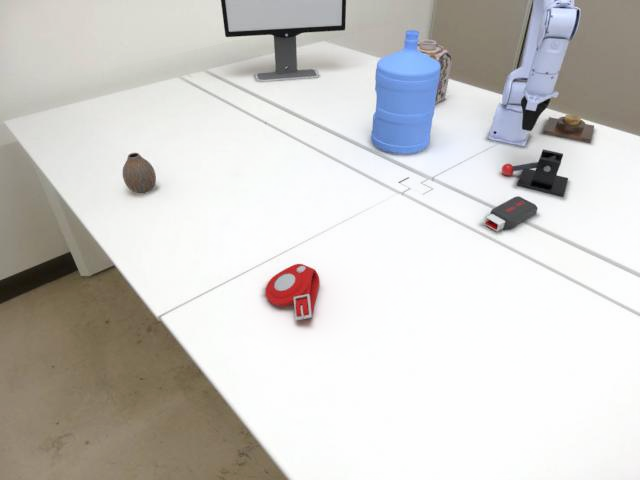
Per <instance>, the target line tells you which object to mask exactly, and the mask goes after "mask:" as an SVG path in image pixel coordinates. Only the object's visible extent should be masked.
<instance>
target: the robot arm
mask: <svg viewBox="0 0 640 480" xmlns="http://www.w3.org/2000/svg"><path fill="white" fill-rule="evenodd" d="M580 21H581V8H580V7H578V6H575V0H532V10H531V13H530V19H529V23H528V28H527V29H528V30H527V34H526V37H525V44H524V48H523V53H522V59H521V62H520V67H517V68H516V69H514V70H512V71H511V72H509V73H508V75H507V77H506V80H505V84H504V87H503V91H502V96H501V102H500V103H498V104H497V106H496V109H495V112H494V115H493V118H492V122H491V126H490V131H489V135H488V137H487V138H488V140H491V141H495V142H499V143H504V144H508V145H514V146H517V147H523V148H524V147H525V146H526V144H527V142H528V140H529V138H530V135H531V134H530V133H529V132H532V131H533V129H534V128H535V126H536V124H537V122H538V120H539V118H540V116H541V114H542V113H543V112H544V111H545V110H546V109H547V108H548V107H549V105H550V102H551V98H554V99H556V98H558V96H559V91H555V86H556V84H557V81H558V78H559V74H560V71H561V68H562V65H563V61H564V59H565V57H566V53H567V49H568V46H569V44H570V41H572V40H573V39H574V38H575V36H576V34H577V31H578V29H579V26H580Z"/></svg>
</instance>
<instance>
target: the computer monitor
mask: <svg viewBox="0 0 640 480" xmlns="http://www.w3.org/2000/svg"><path fill="white" fill-rule="evenodd" d="M220 3H221V5H220V6H221V12H222V21H223V29H224V35H225V37H226V38H236V37H237V38H238V37H251V36H252V37H254V36H255V37H256V36H273V48H274V62H275V63H274V64H275V65H274V66H275V71H262V72H257V73H256V74H255V78H256V81H257V82H261V83H262V82H275V81H277V82H278V81H290V80H303V79H315V78H319V74H318V71H317V70H316V69H313V68H305V69H298V55H297V53H298V52H297V36H299V35H301V34H305V33H322V32H323V33H324V32H339V31H341V32H342V31H345V30H346V16H347V15H346V14H347V0H220Z"/></svg>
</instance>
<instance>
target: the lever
mask: <svg viewBox="0 0 640 480" xmlns="http://www.w3.org/2000/svg"><path fill="white" fill-rule="evenodd" d="M544 158H548V159H553V160H556V155H555V156H549V157H544ZM537 164H538V161H535V162H530V163H529V162H528V163H523V164H522V163H521V164H517V165H513V164H512V163H505V164H503V165H502V167H501V173H502V175H504V176H511V175H512V174H513V173H514V172H519V171H523V170H526V169H532V170H534V169H536V167H537Z"/></svg>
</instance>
